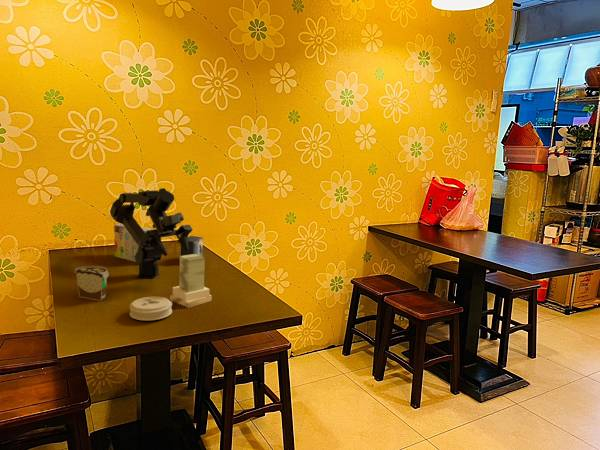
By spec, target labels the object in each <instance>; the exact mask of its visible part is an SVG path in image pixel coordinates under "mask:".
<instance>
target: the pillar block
mask: <svg viewBox="0 0 600 450" xmlns="http://www.w3.org/2000/svg"><path fill="white" fill-rule="evenodd" d="M205 261H206V260H205V257H204V256H203V257H202V256H199V255H197V254H191V255H184V256H181V255H179V279H178V281H179V283H178V284H179V285H178V286H179V287H180V288H182V289H183V290H185V291H187V292H192V291H197V290H202V289H204V287H205V263H206V262H205Z"/></svg>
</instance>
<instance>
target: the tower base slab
mask: <svg viewBox="0 0 600 450" xmlns="http://www.w3.org/2000/svg"><path fill="white" fill-rule="evenodd" d="M169 300H171V302H173V301H174V302H173V303H175V302H176V303H175V304H177V303H178V305H180V304H181V305H180V306H182V305H183V306H182V307H184V306H185V307H184V308H187V309H189V307H190V308H192V307H195V306H199V305H201V304H205V303H208V302H211V301H212V300H213V296H212V295H211V294H210V296H208V297H204V298H199V299H195V300H191V301H187V302H186V301H184V300H182V299H180V298H179V297H177V296H175V295H173V293H172V294H170V295H169Z"/></svg>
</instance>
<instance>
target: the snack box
mask: <svg viewBox="0 0 600 450" xmlns="http://www.w3.org/2000/svg"><path fill="white" fill-rule="evenodd" d="M140 227H141V228H142V229H143V231H144V232H145V233H146V231H147V230H154V229H155V228H148V227H143V226H140ZM113 228H114V229H113V230H114V231H113V232H114V234H113V235H114V236H113V237H114V240H113V241H114V257H115V258H120V259H122V260H126V261H130V262H134V263H137V264H139V263H138V262H136V261H135V255H136V253H137V251H138V244H137V243H136V242H135V240H134V239H133V237H132V236H131V235H130V233H129V232H128V231H127V229H126V228H125V226H124V225H123V224H121V223H118V224H114V225H113Z"/></svg>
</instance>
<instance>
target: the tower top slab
mask: <svg viewBox="0 0 600 450" xmlns="http://www.w3.org/2000/svg"><path fill="white" fill-rule="evenodd" d="M210 291H211V290H210V288H208V287H206V286H204V289H202V290H197V291H192V292H187V291H185V290H183V289H182V288H180V287H179V285H177V286H173V287H172V294H173V295H175V296H177V297H179V298H180V299H182V300H184V301H186V302H187V301H191V300H195V299H199V298H204V297H208V296H210V295H211V293H210Z"/></svg>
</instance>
